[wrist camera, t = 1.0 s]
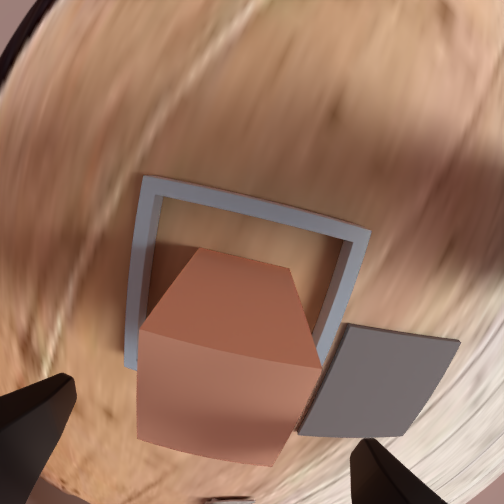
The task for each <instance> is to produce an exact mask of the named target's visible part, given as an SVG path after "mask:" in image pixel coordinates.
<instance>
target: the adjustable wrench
mask: <svg viewBox="0 0 504 504" xmlns="http://www.w3.org/2000/svg"><path fill="white" fill-rule="evenodd" d="M252 503H255V500H221V501H220V500H218V499H214V498H213V499H212V500H211V501H210V502H208V501H206V502H205V503H204V504H252Z"/></svg>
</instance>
